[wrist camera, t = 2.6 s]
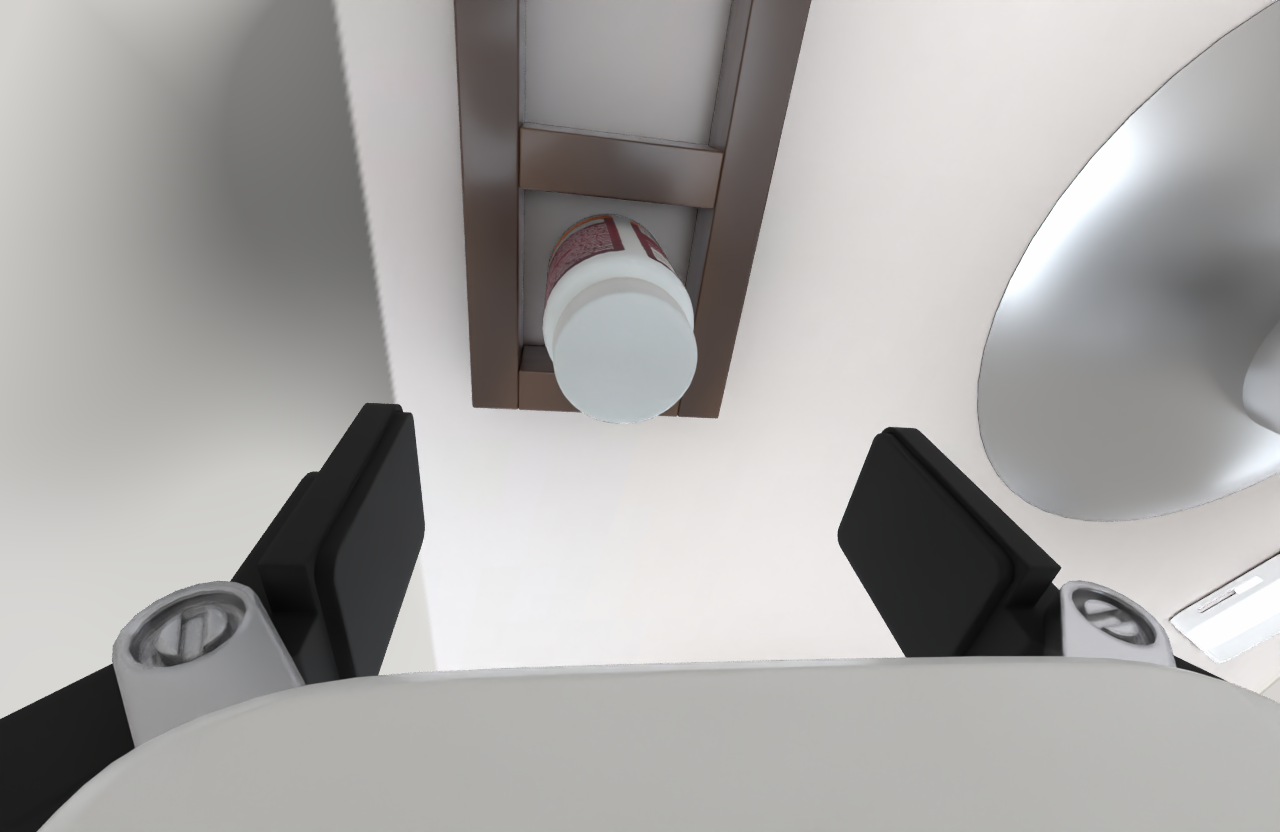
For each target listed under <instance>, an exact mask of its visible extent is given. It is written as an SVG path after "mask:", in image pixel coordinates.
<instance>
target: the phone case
mask: <svg viewBox="0 0 1280 832" xmlns="http://www.w3.org/2000/svg"><path fill="white" fill-rule="evenodd" d="M1233 590H1234V591H1235V592H1236V593H1235V594H1234V595H1232V596H1231V597H1229V598H1227V599H1225V600H1224V601H1222V602H1220V603H1219V604H1217V605H1215V606H1213V607H1212V608H1210V609H1208V610H1206V611H1205V612H1203V613H1200V612H1199V611H1198V610H1200V609H1202V608H1204V607H1205V606H1207V605H1209V604H1210V603H1212V602H1214V601H1216V600H1217V599H1219V598H1221V597H1222V596H1224V595H1226V594H1228V593H1229V592H1231V591H1233ZM1170 622H1171V623H1172V624H1173V625H1174V626H1175V627H1176V628H1177V629H1178V630H1179V631H1180V632H1182V633H1183V634H1184V635H1185V636H1186V637H1187V638H1188V639H1189V640H1190V641H1191V642H1193V643H1194V644H1195V645H1196V646H1197V647H1198V648H1199V649H1200V650H1201V651H1203V652H1204V653H1205V654H1206V655H1207V656H1208V657H1209V658H1210V659H1212V660H1213V661H1214V662H1215V663H1216V664H1218V663H1222V662H1225V661H1228V660H1230V659H1232V658H1234V657H1236V656H1237V655H1239V654H1241V653H1243V652H1245V651H1247V650H1249V649H1250V648H1252V647H1254V646H1256V645H1258V644H1260V643H1261V642H1263V641H1265V640H1267V639H1269V638H1271V637H1273V636H1274V635H1276V634H1278V633H1280V554H1278V555H1277V556H1275V557H1273V558H1272V559H1270V560H1268V561H1267V562H1265V563H1263V564H1261V565H1260V566H1258V567H1256V568H1255V569H1253V570H1251V571H1250V572H1248V573H1246V574H1244V575H1243V576H1241V577H1239V578H1238V579H1236V580H1234V581H1233V582H1231V583H1229V584H1227V585H1226V586H1224V587H1222V588H1221V589H1219V590H1217V591H1216V592H1214V593H1212V594H1210V595H1209V596H1207V597H1205V598H1204V599H1202V600H1200V601H1199V602H1197V603H1195V604H1193V605H1192V606H1190V607H1188V608H1187V609H1185V610H1183V611H1182V612H1180V613H1178V614H1177V615H1176V616H1174V617H1173V618H1172V619H1171V621H1170Z"/></svg>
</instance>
